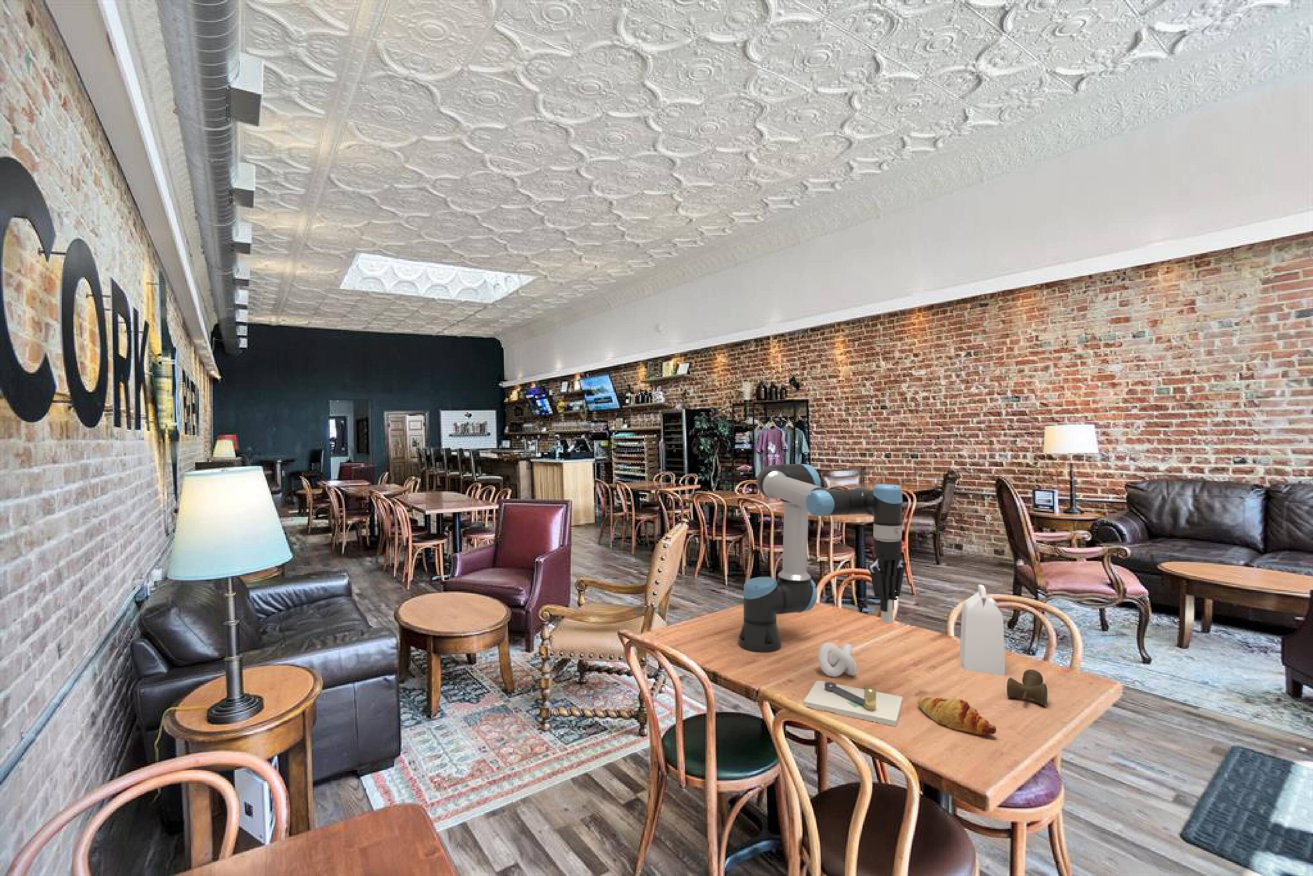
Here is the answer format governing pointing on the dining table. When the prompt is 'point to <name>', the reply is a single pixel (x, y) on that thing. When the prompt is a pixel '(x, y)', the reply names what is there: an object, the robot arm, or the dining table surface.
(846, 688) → the board
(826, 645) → the white knot sculpture
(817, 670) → the dining table surface
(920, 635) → the dining table surface
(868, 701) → the grey crank handle
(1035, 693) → the kendama
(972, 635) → the milk
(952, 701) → the croissant
